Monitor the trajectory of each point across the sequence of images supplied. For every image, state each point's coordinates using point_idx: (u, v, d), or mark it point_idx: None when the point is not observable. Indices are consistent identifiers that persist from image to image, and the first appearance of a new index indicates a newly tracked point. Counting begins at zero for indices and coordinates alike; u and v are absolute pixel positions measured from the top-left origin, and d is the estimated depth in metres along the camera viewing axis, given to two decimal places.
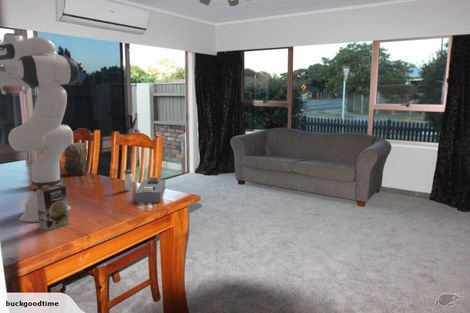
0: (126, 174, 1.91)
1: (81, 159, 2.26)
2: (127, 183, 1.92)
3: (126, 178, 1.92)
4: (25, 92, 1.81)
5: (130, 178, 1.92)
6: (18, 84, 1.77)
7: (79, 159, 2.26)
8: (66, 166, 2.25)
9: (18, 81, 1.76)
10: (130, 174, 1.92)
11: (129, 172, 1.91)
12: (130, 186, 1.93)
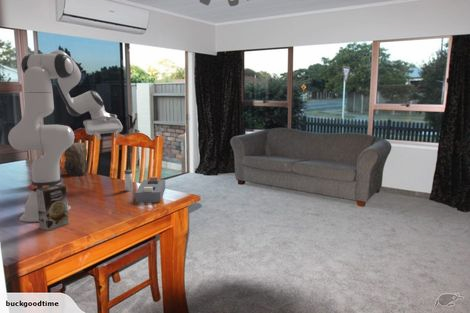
0: (126, 174, 1.91)
1: (81, 159, 2.26)
2: (127, 183, 1.92)
3: (126, 178, 1.92)
4: (116, 135, 2.01)
5: (130, 178, 1.92)
6: (108, 128, 2.00)
7: (79, 159, 2.26)
8: (66, 166, 2.25)
9: (107, 126, 2.00)
10: (130, 174, 1.92)
11: (129, 172, 1.91)
12: (130, 186, 1.93)
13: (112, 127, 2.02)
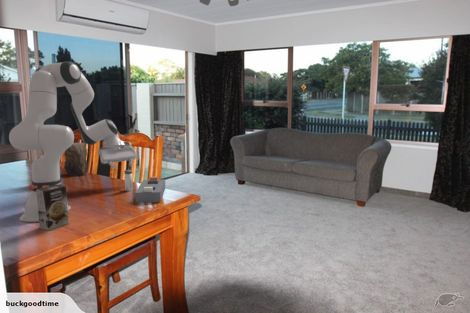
0: (126, 174, 1.91)
1: (81, 159, 2.26)
2: (127, 183, 1.92)
3: (126, 178, 1.92)
4: (130, 163, 2.00)
5: (130, 178, 1.92)
6: (122, 156, 1.99)
7: (79, 159, 2.26)
8: (66, 166, 2.25)
9: (121, 154, 2.00)
10: (130, 174, 1.92)
11: (129, 172, 1.91)
12: (130, 186, 1.93)
13: (126, 155, 2.01)
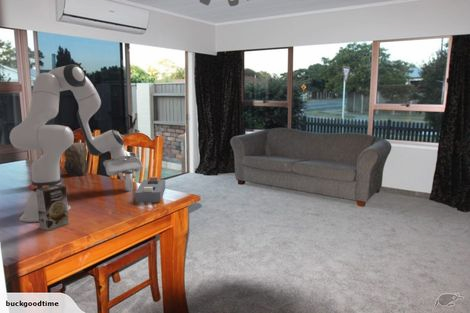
0: (126, 174, 1.91)
1: (81, 159, 2.26)
2: (127, 183, 1.92)
3: (126, 178, 1.92)
4: (133, 175, 1.95)
5: (130, 178, 1.92)
6: (128, 168, 1.95)
7: (79, 159, 2.26)
8: (66, 166, 2.25)
9: (127, 166, 1.96)
10: (130, 174, 1.92)
11: (129, 172, 1.91)
12: (130, 186, 1.93)
13: (132, 167, 1.97)
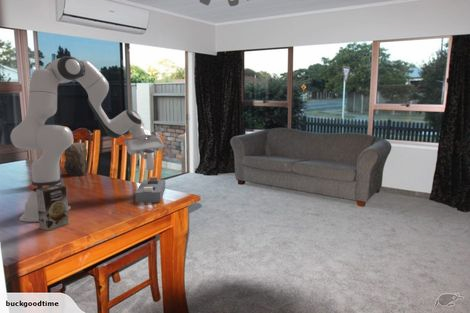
0: (148, 153, 1.87)
1: (81, 159, 2.26)
2: (148, 162, 1.88)
3: (147, 157, 1.88)
4: (154, 154, 1.91)
5: (152, 157, 1.88)
6: (149, 147, 1.91)
7: (79, 159, 2.26)
8: (66, 166, 2.25)
9: (148, 145, 1.91)
10: (152, 153, 1.88)
11: (151, 151, 1.87)
12: (151, 165, 1.89)
13: (154, 146, 1.93)
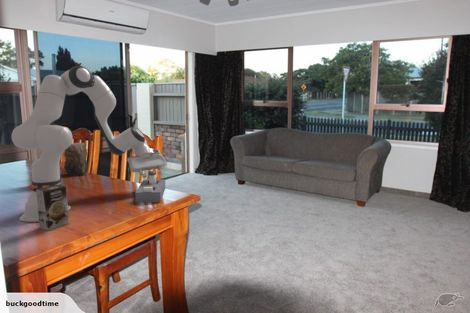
0: (150, 175, 1.89)
1: (81, 159, 2.26)
2: None
3: (150, 179, 1.89)
4: (160, 171, 1.93)
5: (154, 179, 1.90)
6: (152, 164, 1.92)
7: (79, 159, 2.26)
8: (66, 166, 2.25)
9: (151, 162, 1.92)
10: (154, 175, 1.89)
11: (153, 173, 1.89)
12: None
13: (156, 163, 1.94)
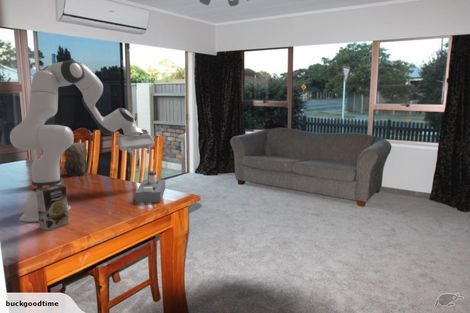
0: (150, 175, 1.89)
1: (81, 159, 2.26)
2: None
3: (150, 179, 1.89)
4: (148, 150, 2.01)
5: (154, 179, 1.90)
6: (141, 144, 2.00)
7: (79, 159, 2.26)
8: (66, 166, 2.25)
9: (140, 142, 2.00)
10: (154, 175, 1.89)
11: (153, 173, 1.89)
12: None
13: (145, 143, 2.01)
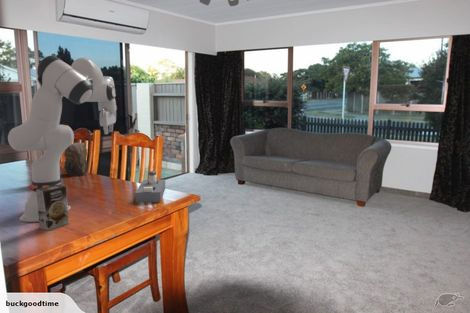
0: (150, 175, 1.89)
1: (81, 159, 2.26)
2: None
3: (150, 179, 1.89)
4: (112, 130, 1.96)
5: (154, 179, 1.90)
6: (112, 122, 1.92)
7: (79, 159, 2.26)
8: (66, 166, 2.25)
9: (112, 120, 1.92)
10: (154, 175, 1.89)
11: (153, 173, 1.89)
12: None
13: (113, 121, 1.95)
